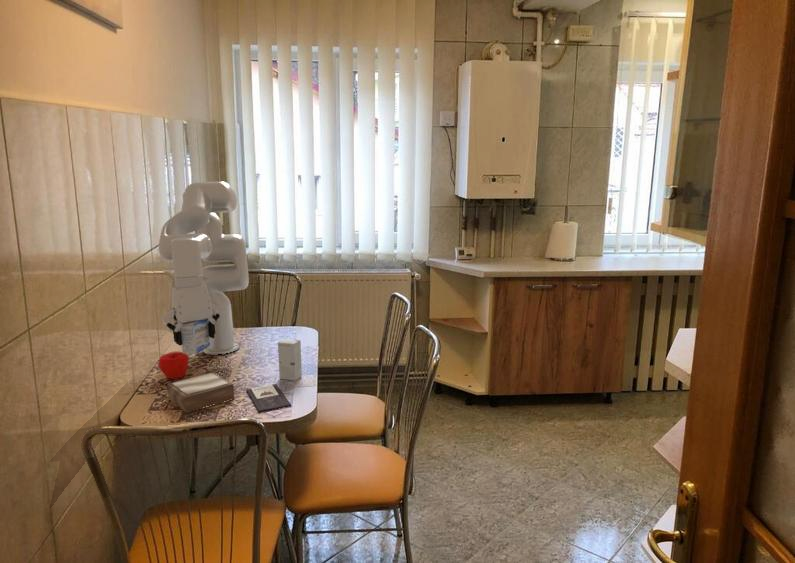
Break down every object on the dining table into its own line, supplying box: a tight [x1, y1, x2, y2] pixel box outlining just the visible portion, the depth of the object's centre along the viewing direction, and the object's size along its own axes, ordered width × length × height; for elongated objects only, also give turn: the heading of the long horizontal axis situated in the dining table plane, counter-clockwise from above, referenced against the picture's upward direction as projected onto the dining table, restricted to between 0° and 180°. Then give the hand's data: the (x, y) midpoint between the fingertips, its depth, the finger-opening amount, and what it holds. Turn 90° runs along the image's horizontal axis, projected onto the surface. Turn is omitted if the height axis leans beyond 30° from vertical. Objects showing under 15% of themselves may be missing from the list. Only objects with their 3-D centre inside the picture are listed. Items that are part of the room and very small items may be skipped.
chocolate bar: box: [246, 383, 292, 413], centre depth 173 cm, size 9×1×18 cm
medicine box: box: [179, 319, 210, 355], centre depth 170 cm, size 8×4×9 cm, turn 169°
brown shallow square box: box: [167, 371, 235, 414], centre depth 173 cm, size 14×14×5 cm
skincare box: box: [277, 338, 303, 381], centre depth 187 cm, size 6×4×12 cm
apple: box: [158, 351, 189, 380], centre depth 192 cm, size 9×9×8 cm
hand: (195, 340), depth 170 cm, fingers closed on medicine box, 9 cm apart
